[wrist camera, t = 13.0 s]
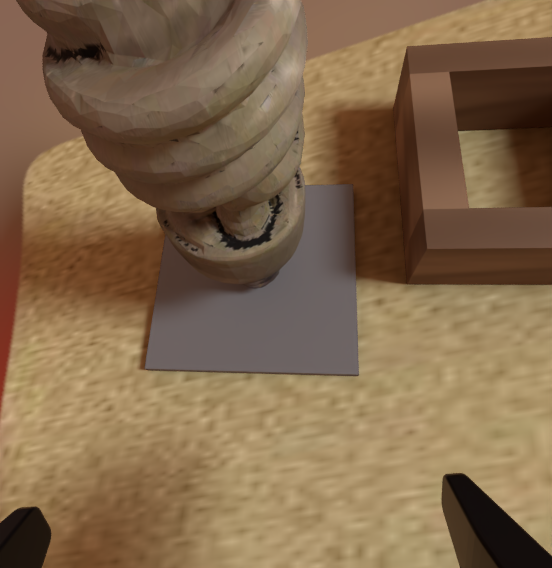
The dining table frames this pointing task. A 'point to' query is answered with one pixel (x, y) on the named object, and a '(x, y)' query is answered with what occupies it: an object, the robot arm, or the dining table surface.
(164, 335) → the rubber mat
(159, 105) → the light bulb
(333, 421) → the dining table surface
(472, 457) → the dining table surface
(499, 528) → the robot arm
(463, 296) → the dining table surface
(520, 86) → the socket block
